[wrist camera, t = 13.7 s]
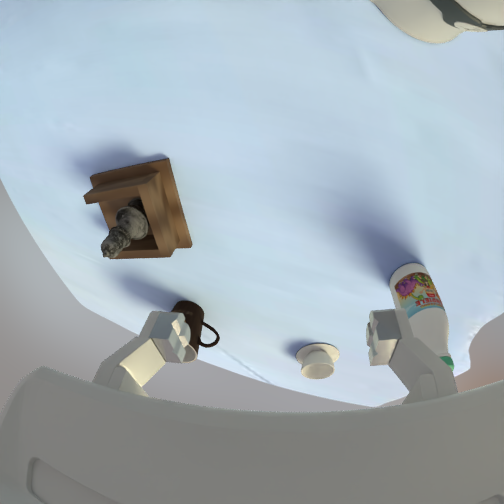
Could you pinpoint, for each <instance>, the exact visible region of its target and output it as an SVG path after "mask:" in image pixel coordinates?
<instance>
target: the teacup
mask: <svg viewBox="0 0 504 504" xmlns="http://www.w3.org/2000/svg"><path fill="white" fill-rule="evenodd" d="M338 358H339V351H338V350H337V349H336V348H335V347H333V346H331V345H328V344H312V345H308V346H305V347H303V348H301V349H300V350H299V351H298V352H297V354H296V359H297V361H298V362H299V363H301V364H302V368H301V374H302V375H303V376H304V377H306V378H309V379H323V378H327V377H329V376H331V375H332V374H333V373H334V370H335V369H334V364H333V363H334V362H335V361H336V360H337V359H338Z"/></svg>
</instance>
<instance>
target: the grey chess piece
mask: <svg viewBox="0 0 504 504" xmlns="http://www.w3.org/2000/svg"><path fill="white" fill-rule="evenodd" d="M115 221H116V225H117V226H116V227H112V228H111V229H110V231H109V235H108V236H107V237H106V239H105V240H104V241H103V242H102V244H101V250H102V252H103V257H109V258H115V257H116V256H118V254H119V253H120V252H121V251H122V249H123V248H125V247H128V246H129V244H130V240H131V239H134V240H139V239H142V238H144V237H145V236H146V234H147V233H148V227H149V226H150V224H149V221H148V218H147V215H146V212H145V209H144V206H143V203H142V200H141V198H134V199H132V200H131V201H130V202H129V203H128V206H124V207H121V208H120V209H119V210H118V211H117V213H116V216H115Z"/></svg>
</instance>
